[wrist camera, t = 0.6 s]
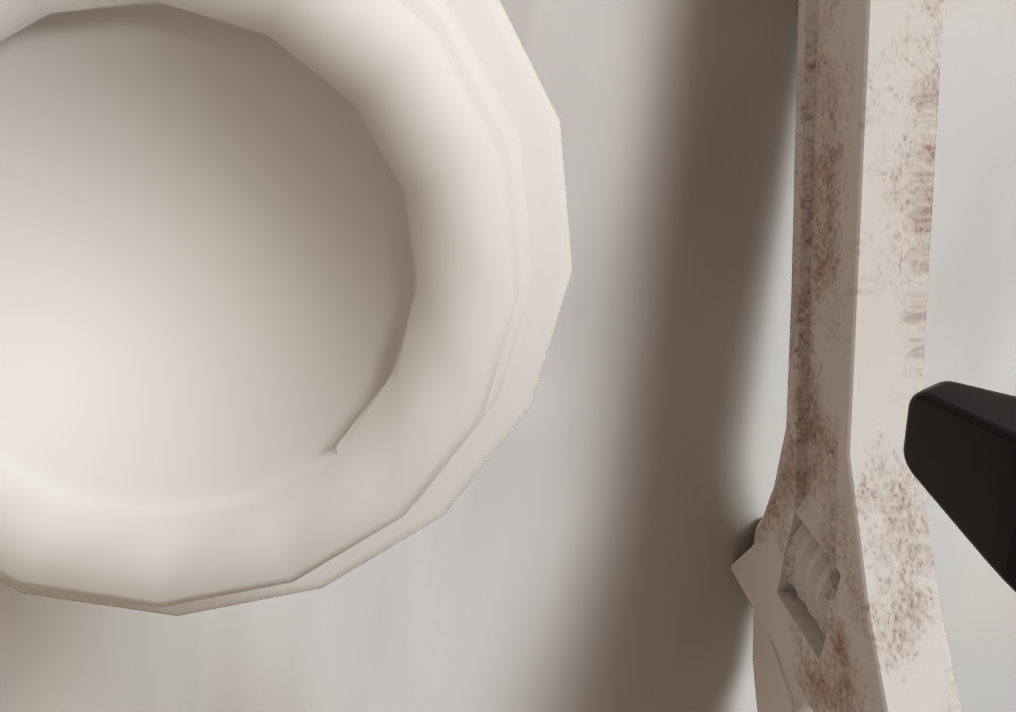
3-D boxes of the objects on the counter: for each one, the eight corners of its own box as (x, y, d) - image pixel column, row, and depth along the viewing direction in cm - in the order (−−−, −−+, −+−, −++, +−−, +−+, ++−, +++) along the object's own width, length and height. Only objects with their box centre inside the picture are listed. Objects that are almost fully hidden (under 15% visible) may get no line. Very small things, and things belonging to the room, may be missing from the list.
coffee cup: (467, -32, 20) (676, -183, 9) (436, 385, 23) (572, 686, 11) (-8, -91, 18) (-512, -379, 7) (10, 373, 21) (-348, 725, 9)
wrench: (820, -433, 22) (782, 767, 27) (747, -442, 22) (720, 776, 27) (1096, -773, 15) (975, 994, 19) (989, -798, 14) (892, 1010, 19)
